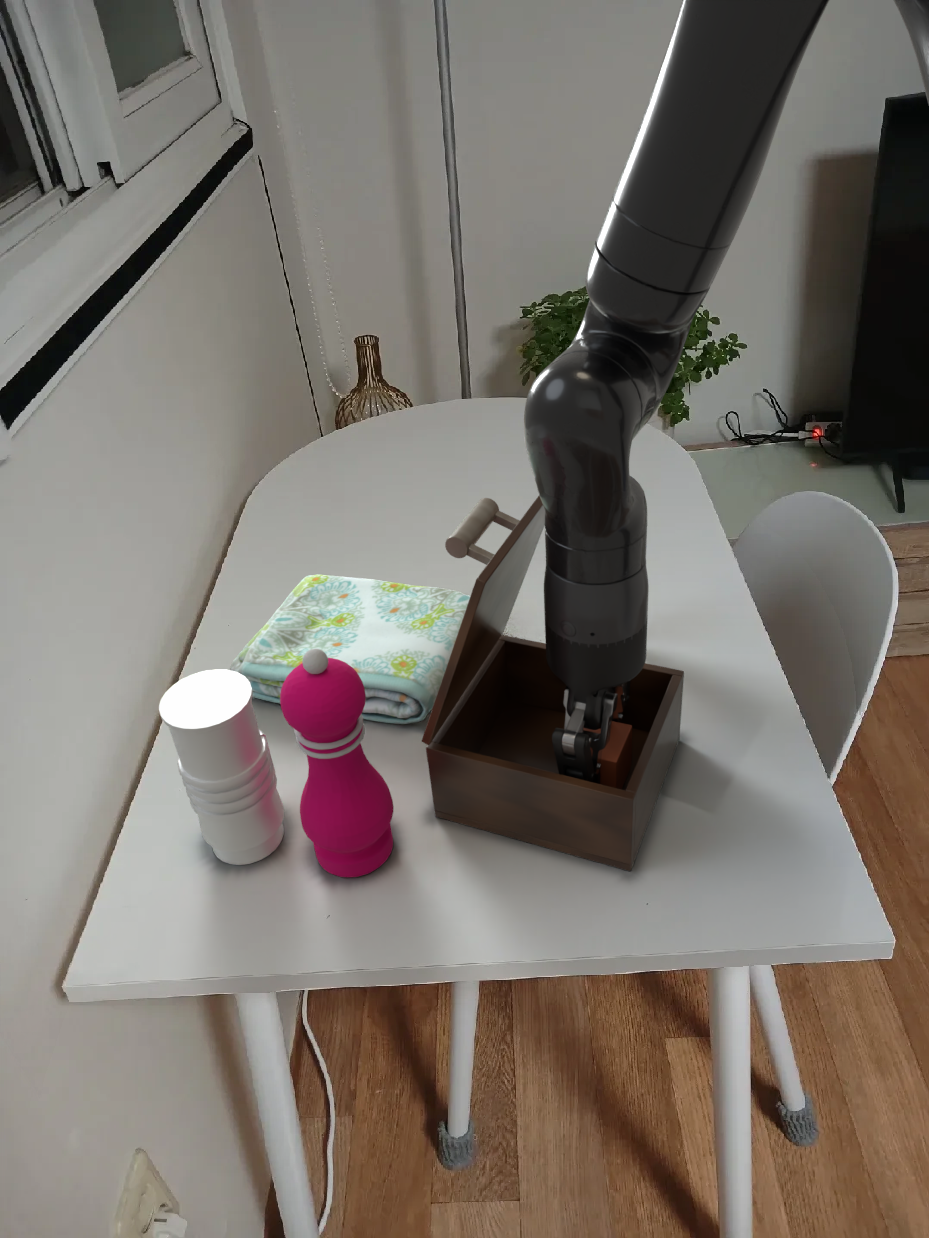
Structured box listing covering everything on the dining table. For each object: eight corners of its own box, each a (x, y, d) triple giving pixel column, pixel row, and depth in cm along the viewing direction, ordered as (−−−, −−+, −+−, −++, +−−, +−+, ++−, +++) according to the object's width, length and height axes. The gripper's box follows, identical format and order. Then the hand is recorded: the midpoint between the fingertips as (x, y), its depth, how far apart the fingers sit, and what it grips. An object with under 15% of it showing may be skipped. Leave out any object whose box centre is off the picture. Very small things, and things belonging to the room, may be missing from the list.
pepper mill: (411, 821, 79) (380, 625, 67) (381, 891, 73) (342, 691, 61) (330, 807, 81) (287, 615, 69) (295, 874, 75) (241, 678, 63)
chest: (679, 739, 84) (684, 670, 79) (630, 871, 73) (633, 800, 68) (505, 700, 90) (500, 634, 86) (434, 816, 79) (425, 747, 74)
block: (631, 765, 80) (632, 724, 78) (616, 803, 77) (616, 762, 74) (579, 753, 82) (578, 713, 80) (562, 790, 79) (560, 749, 76)
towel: (313, 597, 107) (306, 558, 104) (493, 623, 100) (490, 583, 97) (229, 699, 93) (217, 658, 90) (430, 738, 87) (425, 695, 84)
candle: (306, 833, 78) (271, 694, 70) (235, 883, 75) (188, 743, 66) (260, 792, 83) (221, 656, 74) (190, 838, 79) (140, 700, 70)
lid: (563, 476, 74) (509, 451, 74) (485, 583, 62) (422, 552, 63) (503, 632, 85) (457, 609, 86) (428, 746, 74) (376, 718, 75)
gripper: (617, 679, 63) (614, 851, 73) (670, 567, 74) (661, 731, 83) (512, 657, 66) (523, 826, 76) (577, 553, 76) (579, 713, 86)
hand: (595, 776), depth 80 cm, fingers closed on block, 4 cm apart
